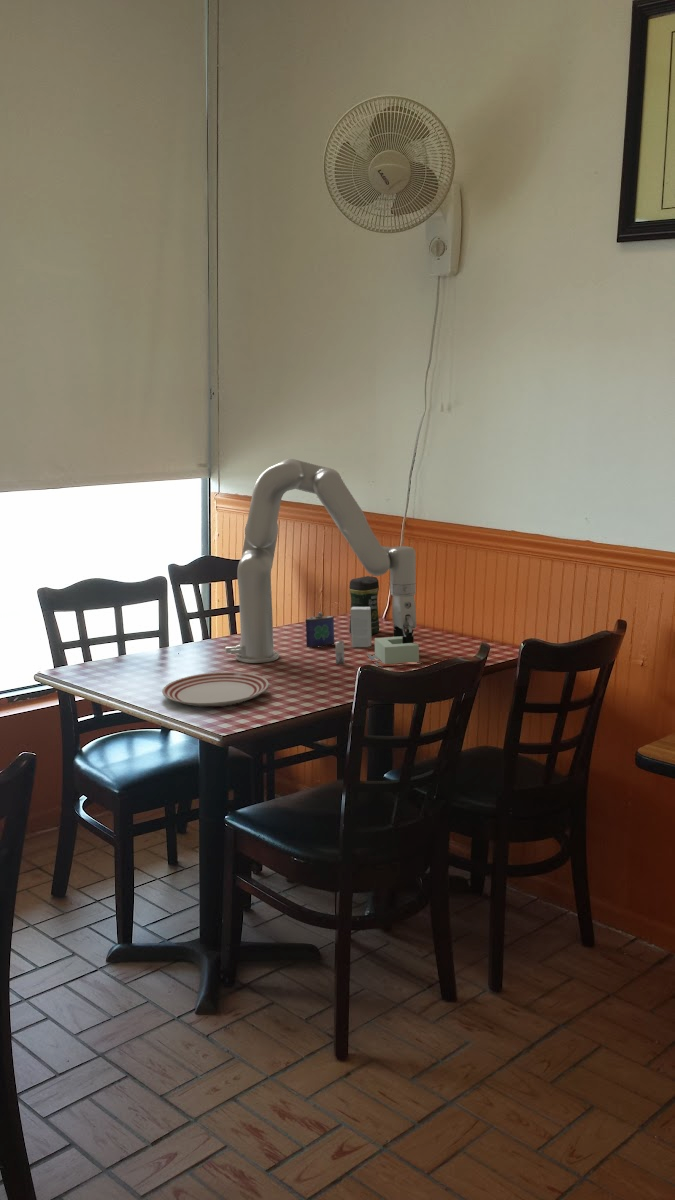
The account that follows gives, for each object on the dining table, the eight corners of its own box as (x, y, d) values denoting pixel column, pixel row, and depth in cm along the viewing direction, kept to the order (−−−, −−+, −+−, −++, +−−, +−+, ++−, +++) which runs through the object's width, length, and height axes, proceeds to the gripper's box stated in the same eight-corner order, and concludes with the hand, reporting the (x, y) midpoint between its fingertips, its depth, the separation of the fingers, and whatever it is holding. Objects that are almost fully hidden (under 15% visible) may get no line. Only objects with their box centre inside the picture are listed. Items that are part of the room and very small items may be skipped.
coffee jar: (364, 638, 339) (363, 580, 335) (345, 634, 344) (344, 577, 341) (384, 632, 346) (383, 576, 342) (365, 629, 351) (364, 573, 348)
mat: (378, 667, 303) (378, 666, 303) (366, 655, 316) (366, 654, 316) (422, 664, 306) (422, 662, 306) (408, 652, 319) (408, 651, 319)
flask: (332, 643, 333) (331, 609, 331) (336, 645, 331) (335, 611, 328) (305, 646, 330) (304, 612, 327) (308, 648, 327) (307, 614, 325)
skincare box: (371, 644, 330) (371, 606, 328) (370, 647, 326) (370, 609, 324) (352, 644, 331) (351, 606, 329) (351, 647, 327) (350, 609, 325)
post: (336, 665, 306) (336, 643, 305) (335, 663, 309) (334, 641, 308) (345, 664, 307) (344, 642, 306) (343, 662, 309) (342, 640, 308)
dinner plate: (213, 720, 259) (212, 706, 258) (140, 700, 276) (140, 688, 276) (290, 694, 279) (290, 682, 278) (218, 678, 297) (218, 666, 296)
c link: (385, 664, 304) (384, 647, 303) (374, 654, 316) (374, 638, 315) (418, 661, 306) (418, 644, 305) (407, 652, 318) (407, 635, 317)
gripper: (423, 593, 305) (424, 651, 308) (407, 583, 321) (407, 638, 325) (398, 595, 303) (399, 653, 307) (383, 584, 320) (383, 640, 323)
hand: (403, 645), depth 316 cm, fingers open, 9 cm apart
